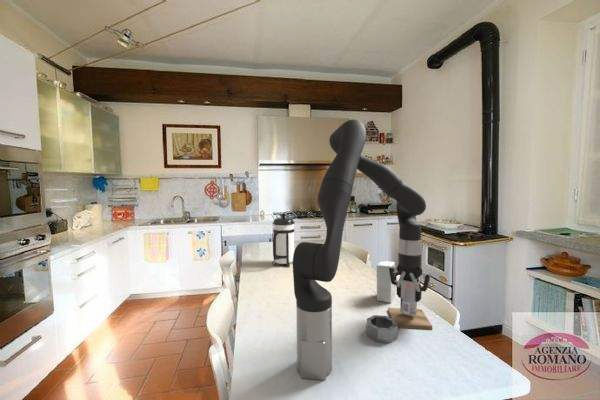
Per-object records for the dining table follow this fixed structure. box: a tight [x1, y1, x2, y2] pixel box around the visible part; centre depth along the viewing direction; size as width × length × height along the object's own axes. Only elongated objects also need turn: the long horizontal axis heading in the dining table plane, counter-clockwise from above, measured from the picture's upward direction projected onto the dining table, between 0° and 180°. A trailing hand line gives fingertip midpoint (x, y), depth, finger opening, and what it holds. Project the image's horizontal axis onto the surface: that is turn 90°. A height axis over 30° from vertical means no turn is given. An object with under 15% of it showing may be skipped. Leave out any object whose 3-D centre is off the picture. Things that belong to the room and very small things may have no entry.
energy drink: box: [399, 279, 418, 316], centre depth 98 cm, size 5×5×12 cm
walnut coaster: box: [387, 307, 433, 330], centre depth 98 cm, size 12×12×1 cm
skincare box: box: [376, 260, 396, 304], centre depth 115 cm, size 8×6×15 cm
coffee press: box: [271, 213, 295, 268], centre depth 162 cm, size 17×16×30 cm
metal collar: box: [365, 314, 399, 344], centre depth 89 cm, size 9×9×4 cm
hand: (408, 298), depth 98 cm, fingers closed on energy drink, 5 cm apart
